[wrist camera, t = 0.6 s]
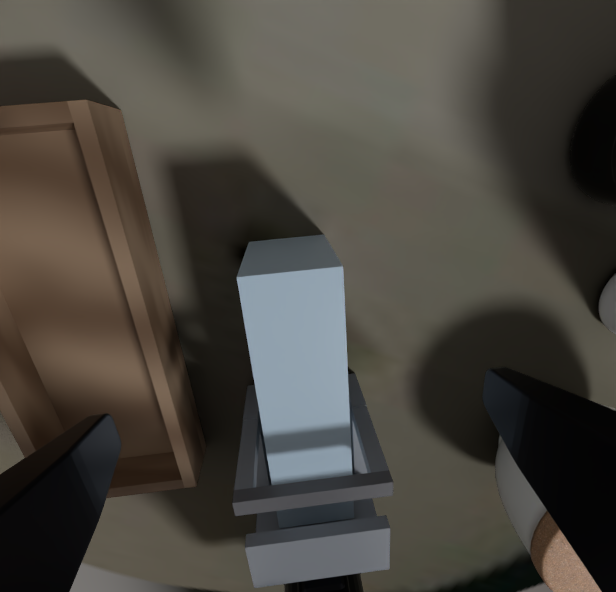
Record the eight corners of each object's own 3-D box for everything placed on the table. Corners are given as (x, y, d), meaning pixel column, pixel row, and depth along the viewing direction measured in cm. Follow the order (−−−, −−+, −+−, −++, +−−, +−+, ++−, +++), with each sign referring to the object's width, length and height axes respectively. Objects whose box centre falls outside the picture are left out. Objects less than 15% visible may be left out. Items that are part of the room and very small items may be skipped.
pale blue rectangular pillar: (336, 434, 24) (354, 518, 18) (279, 441, 24) (279, 528, 18) (323, 233, 18) (343, 266, 13) (249, 241, 18) (236, 277, 13)
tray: (206, 446, 23) (196, 486, 20) (78, 462, 23) (50, 505, 20) (121, 110, 15) (86, 99, 13) (-75, 125, 15) (-154, 117, 12)
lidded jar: (471, 384, 23) (590, 523, 14) (626, 360, 23) (835, 482, 14) (463, 496, 27) (550, 657, 18) (594, 474, 27) (742, 623, 19)
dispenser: (357, 450, 24) (391, 574, 17) (261, 462, 24) (253, 594, 17) (355, 373, 22) (393, 480, 14) (247, 385, 21) (231, 501, 14)
